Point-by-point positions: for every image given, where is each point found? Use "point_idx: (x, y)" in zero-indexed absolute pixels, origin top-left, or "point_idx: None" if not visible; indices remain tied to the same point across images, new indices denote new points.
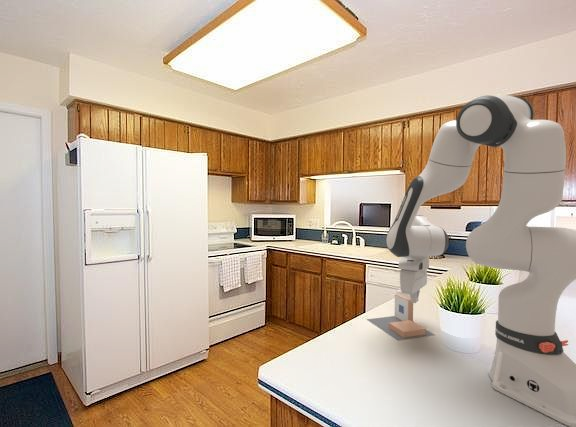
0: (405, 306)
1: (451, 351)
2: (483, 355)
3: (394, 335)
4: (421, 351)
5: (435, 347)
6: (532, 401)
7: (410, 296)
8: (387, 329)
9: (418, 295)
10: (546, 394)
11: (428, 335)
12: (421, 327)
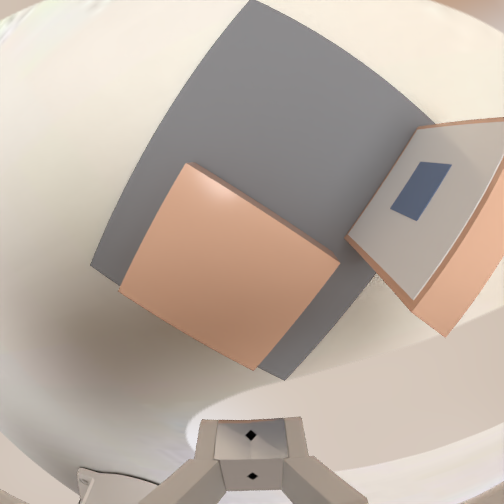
0: (407, 243)
1: (175, 429)
2: None
3: (126, 228)
4: (91, 357)
5: (162, 392)
6: (84, 495)
7: (180, 467)
8: (177, 161)
9: (296, 501)
10: None
11: None
12: (256, 349)
